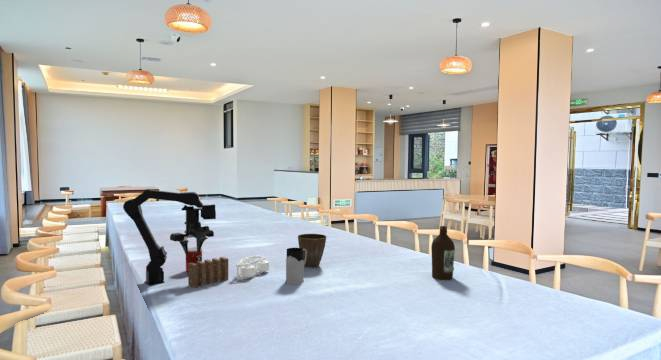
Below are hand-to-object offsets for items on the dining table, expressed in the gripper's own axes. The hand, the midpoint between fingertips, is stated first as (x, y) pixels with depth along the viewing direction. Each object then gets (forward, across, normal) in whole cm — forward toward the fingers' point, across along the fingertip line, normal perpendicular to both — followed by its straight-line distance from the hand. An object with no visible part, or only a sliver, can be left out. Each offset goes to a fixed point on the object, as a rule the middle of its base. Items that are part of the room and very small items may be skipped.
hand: (192, 253), depth 185 cm
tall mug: (+12, +34, -34) cm, 50 cm away
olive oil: (+12, +85, -79) cm, 117 cm away
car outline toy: (+12, +24, -12) cm, 29 cm away
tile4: (+12, +7, -9) cm, 17 cm away
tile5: (+12, +11, -9) cm, 18 cm away
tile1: (+12, -5, -9) cm, 16 cm away
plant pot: (+12, +56, -20) cm, 61 cm away
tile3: (+12, +3, -9) cm, 15 cm away
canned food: (+12, +8, +14) cm, 20 cm away
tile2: (+12, -1, -9) cm, 15 cm away
